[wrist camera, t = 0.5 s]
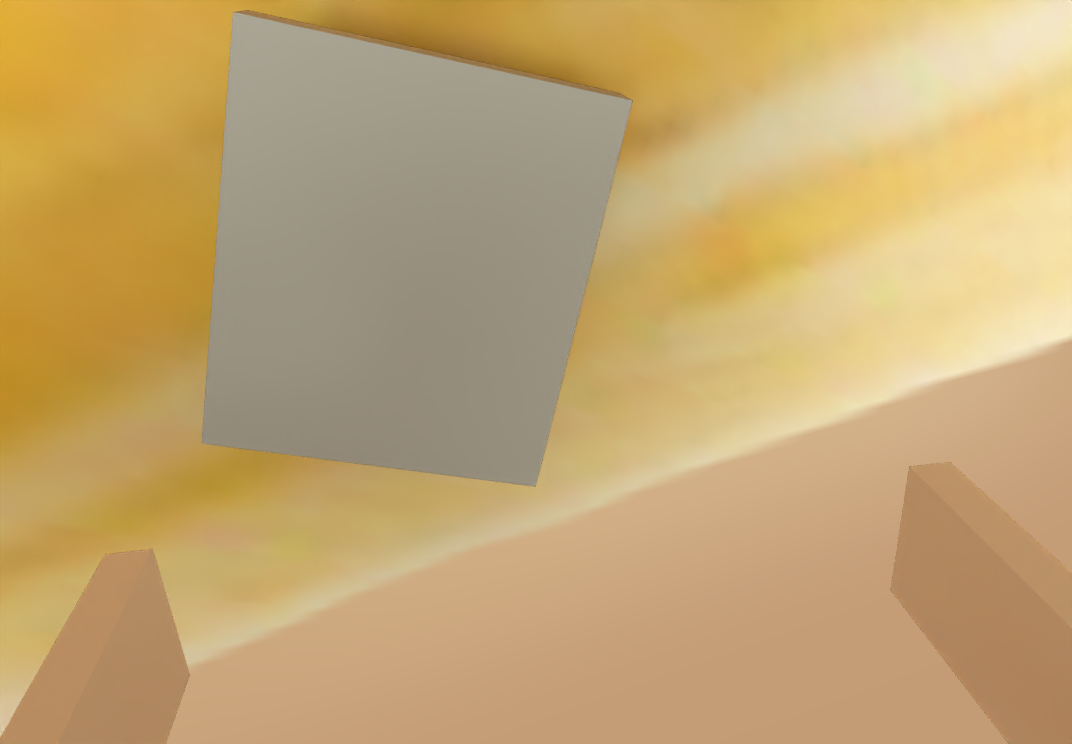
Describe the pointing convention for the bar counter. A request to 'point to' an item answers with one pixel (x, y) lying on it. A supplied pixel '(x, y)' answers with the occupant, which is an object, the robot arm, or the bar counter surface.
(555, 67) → the bar counter surface
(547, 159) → the lid
